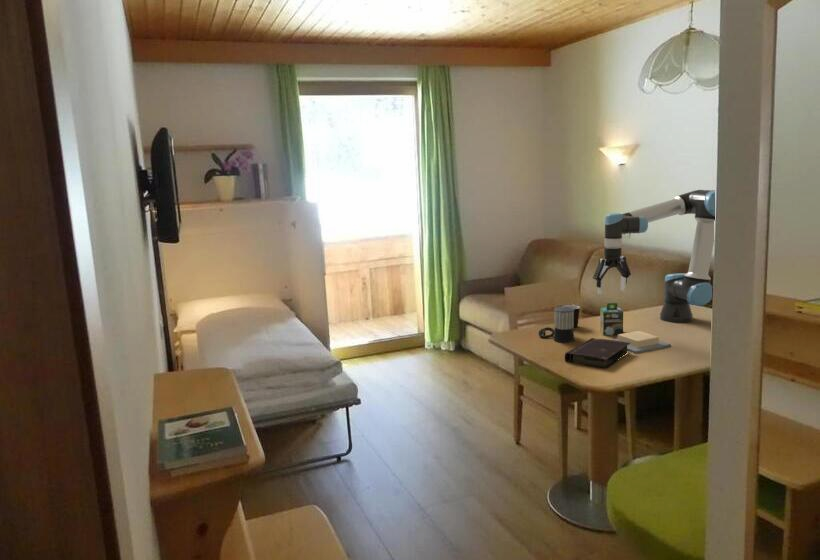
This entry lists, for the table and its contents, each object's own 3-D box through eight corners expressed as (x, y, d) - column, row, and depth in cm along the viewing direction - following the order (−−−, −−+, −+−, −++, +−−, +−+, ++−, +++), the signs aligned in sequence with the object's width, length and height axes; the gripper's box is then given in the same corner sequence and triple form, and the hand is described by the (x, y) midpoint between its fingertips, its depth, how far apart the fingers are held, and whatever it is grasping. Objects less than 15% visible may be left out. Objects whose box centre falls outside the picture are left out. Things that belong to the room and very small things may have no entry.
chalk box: (619, 330, 290) (620, 300, 287) (623, 335, 281) (624, 304, 278) (599, 330, 291) (600, 300, 289) (602, 335, 282) (603, 304, 280)
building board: (640, 336, 279) (640, 327, 278) (670, 346, 263) (671, 337, 262) (605, 342, 271) (605, 334, 271) (635, 353, 255) (635, 344, 254)
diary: (564, 363, 249) (563, 351, 248) (590, 347, 268) (589, 336, 267) (608, 370, 237) (608, 358, 236) (632, 354, 256) (632, 342, 255)
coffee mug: (580, 329, 295) (580, 309, 293) (562, 329, 297) (562, 309, 295) (578, 323, 306) (578, 303, 304) (561, 322, 308) (561, 303, 306)
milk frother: (575, 343, 273) (575, 311, 270) (539, 343, 276) (539, 311, 273) (572, 334, 287) (572, 303, 284) (538, 334, 290) (538, 304, 287)
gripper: (628, 244, 287) (626, 288, 291) (585, 248, 277) (584, 294, 281) (639, 245, 280) (638, 290, 284) (596, 250, 270) (595, 297, 274)
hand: (611, 292), depth 283 cm, fingers open, 13 cm apart
